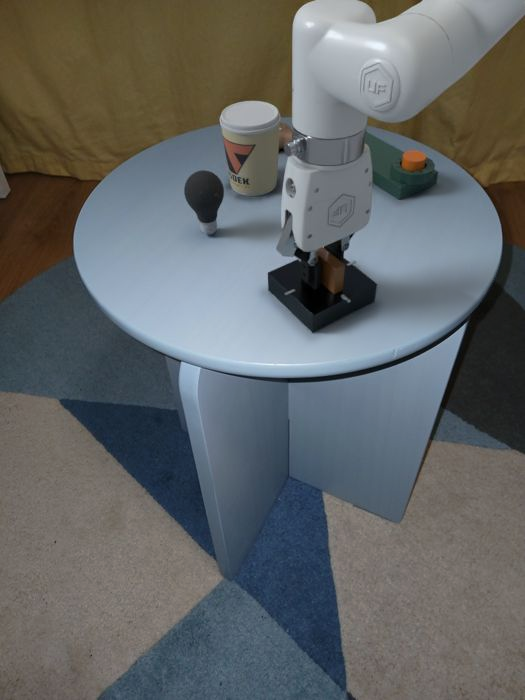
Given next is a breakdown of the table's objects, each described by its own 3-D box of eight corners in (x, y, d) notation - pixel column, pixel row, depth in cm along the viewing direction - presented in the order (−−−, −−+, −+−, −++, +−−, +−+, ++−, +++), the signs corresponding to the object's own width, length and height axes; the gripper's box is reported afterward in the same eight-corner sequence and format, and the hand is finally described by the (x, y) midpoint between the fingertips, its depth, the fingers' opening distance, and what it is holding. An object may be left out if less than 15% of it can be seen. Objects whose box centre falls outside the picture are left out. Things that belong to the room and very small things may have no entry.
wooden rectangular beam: (343, 290, 69) (345, 263, 66) (334, 294, 68) (336, 267, 65) (309, 262, 73) (310, 235, 70) (300, 265, 73) (301, 239, 69)
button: (429, 167, 87) (431, 156, 86) (412, 174, 86) (414, 163, 85) (413, 158, 89) (415, 147, 88) (396, 165, 88) (398, 154, 87)
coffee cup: (214, 183, 93) (207, 112, 85) (258, 164, 97) (255, 94, 88) (248, 205, 88) (244, 132, 80) (293, 184, 92) (293, 113, 83)
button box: (441, 187, 90) (446, 164, 87) (404, 203, 87) (408, 180, 84) (364, 142, 101) (366, 121, 98) (329, 155, 98) (330, 133, 95)
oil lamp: (268, 165, 98) (309, 157, 100) (268, 145, 95) (311, 137, 97) (251, 138, 103) (291, 130, 105) (251, 118, 100) (292, 110, 102)
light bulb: (185, 241, 82) (174, 180, 75) (199, 220, 86) (190, 160, 79) (220, 247, 81) (213, 185, 74) (233, 225, 85) (227, 165, 77)
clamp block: (381, 302, 72) (384, 283, 69) (311, 338, 68) (312, 319, 65) (328, 259, 78) (329, 240, 76) (261, 289, 74) (260, 270, 72)
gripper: (284, 179, 52) (285, 320, 66) (412, 131, 58) (389, 269, 71) (242, 149, 57) (252, 286, 70) (365, 106, 62) (352, 241, 76)
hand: (321, 276), depth 71 cm, fingers closed
